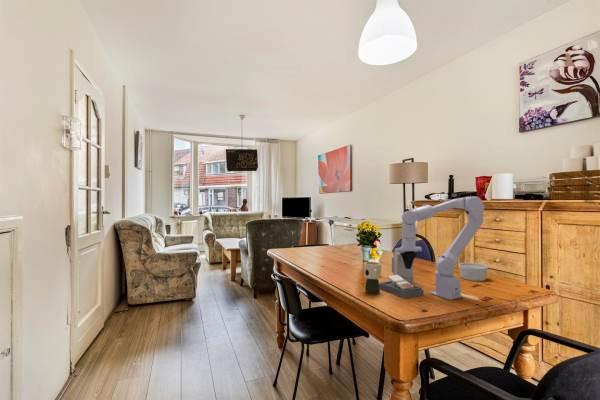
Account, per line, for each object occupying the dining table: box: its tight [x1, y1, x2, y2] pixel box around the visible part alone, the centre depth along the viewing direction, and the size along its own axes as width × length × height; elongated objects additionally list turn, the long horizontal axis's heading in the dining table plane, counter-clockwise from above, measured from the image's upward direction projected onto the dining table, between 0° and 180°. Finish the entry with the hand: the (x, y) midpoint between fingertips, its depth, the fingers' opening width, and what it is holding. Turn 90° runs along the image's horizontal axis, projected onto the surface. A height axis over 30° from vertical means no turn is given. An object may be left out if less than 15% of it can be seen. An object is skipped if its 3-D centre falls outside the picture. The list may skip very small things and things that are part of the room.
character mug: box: [363, 261, 382, 294], centre depth 131 cm, size 11×7×13 cm, turn 2°
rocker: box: [386, 274, 414, 290], centre depth 133 cm, size 10×6×2 cm, turn 27°
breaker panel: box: [379, 280, 425, 299], centre depth 133 cm, size 16×11×3 cm
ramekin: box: [458, 262, 489, 282], centre depth 154 cm, size 13×13×7 cm
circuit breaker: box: [391, 250, 415, 285], centre depth 149 cm, size 8×14×15 cm, turn 174°
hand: (408, 268), depth 132 cm, fingers closed
